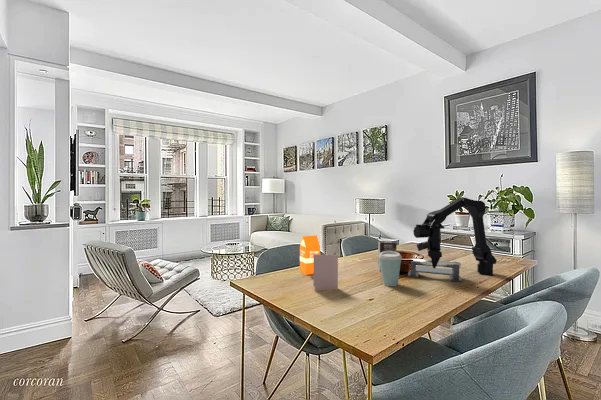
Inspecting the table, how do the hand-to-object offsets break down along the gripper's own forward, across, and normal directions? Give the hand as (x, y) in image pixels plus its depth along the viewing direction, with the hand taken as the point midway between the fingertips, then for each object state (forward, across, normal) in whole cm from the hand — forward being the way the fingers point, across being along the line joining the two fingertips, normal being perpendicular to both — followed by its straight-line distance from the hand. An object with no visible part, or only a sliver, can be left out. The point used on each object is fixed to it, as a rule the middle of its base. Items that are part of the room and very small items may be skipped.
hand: (434, 267), depth 157 cm
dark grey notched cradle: (+5, 0, 0) cm, 5 cm away
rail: (-2, 0, 0) cm, 2 cm away
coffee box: (+5, -5, -24) cm, 25 cm away
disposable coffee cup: (+5, +21, -20) cm, 29 cm away
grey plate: (+5, -13, 0) cm, 14 cm away
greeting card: (+5, +39, -47) cm, 61 cm away
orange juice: (+5, +14, -63) cm, 65 cm away
